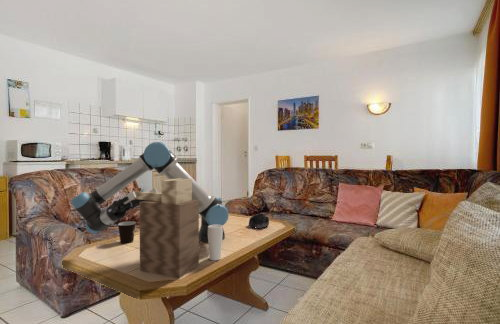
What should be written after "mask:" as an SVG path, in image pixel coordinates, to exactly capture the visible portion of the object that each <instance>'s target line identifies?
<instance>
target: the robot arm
mask: <svg viewBox="0 0 500 324" xmlns="http://www.w3.org/2000/svg"><path fill="white" fill-rule="evenodd" d="M152 170H154V171H156V172H157V173H158V174H159V175H164V176H165V177H166V178H167V180H170V179H178V178H179V179H192V200H199V216H200V217H201V218H200V222H201V223H200V224H201V225H200V227H199V242H200V241H202V242H204V243H205V242H207V243H208V226H209V225H214V224H218V225H222V226H224V225H225V224H227V222H228V220H229V217H230V216H229V210H228V208H227V207H226V206H225V205H223V199H222V198H221V197H216V196H214V195H210V194H209V193H208V192H207V191H206V190H205V189H204V188H202V186H201V185H200V184H199V183H198V182H197V181H196V180H195V179H194V178H193V177H192V176H191V175H190V174H189V173H188V171H186V170H185V169H184V168H183V166H182V165H180V163H178V157H177V156H176V155H175V154H174V153H173V152H172V151H171V150H170V149H169V147H168V146H167V145H166V144H165V143H163V142H160V141H155V142H154V141H153V142H151V143H149V144H148V145H147V146H146V147H145V148H144V151H143V153H142V154H140V155H139V156H138V159H137V160H135V161H134V162H133V163H131V164H130V165H128V166H127V167H125V168H124V169H123V170H121V171H120V172H118V173H117V174H115V175H114V176H113V177H111V178H110V179H109V180H107V181H106V182H104V183H103V184H102V185H100V186H99V187H98V188H96V189H95V190H93V191H92V192H90V193H89V194H88V193H87V192H86V191H82V192H81V193H79V194H78V195H76V196H75V197H73V198H72V199H71V200H70V203H71V205H72V206H73V208H74V209H75V210H76V211H77V212H78V214H79V215H80V216H81V217H82V218H83V219H84V220H85V221H86V222H85V225H84V227H85V230H86V231H87V233H89V234H92V235H93V234H94V235H95V234H98V233H101V232H102V231H104V230H105V229H107V228H108V227H110V226H111V225H112V226H113V225H115V223H116V222H118V221H120V220H121V219H123V218H124V217H125V216H126V213H127V212H128V211H129V210H133V209H135V208H136V207H140V202H143V201H148V200H140V199H134V198H136V195H135V193H134V192H135V191H134V190H133V191H131V192H129V193H127V194H126V195H125V196H124V197H122V198H120V199H118V200H114V201H112V203H111V204H110V205H109V206H107V207H106V208H104V209H103V210H102V209H101V208H100V206H101V205H103V203H106V202H107V200H109V199H110V198H112V197H114V195H116V194H117V193H119V192H121V190H123V189H125V188H126V187H127V186H128V185H130V184H131V183H133V182H134V181H135V180H137V179H138V178H140V177H141V176H143V175H144V174H145V173H147V172H148V171H152ZM148 192H158V193H159V191H158V188H157V187H154V188H153V189H150V191H148ZM225 238H226V233H225V230H224V229H223V237H222V241H223V240H225Z"/></svg>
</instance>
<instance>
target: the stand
mask: <svg viewBox="0 0 500 324" xmlns="http://www.w3.org/2000/svg"><path fill="white" fill-rule="evenodd" d="M199 218H200V214H199V200H191V201H187V202H183V203H179V204H166V203H162V201H153V200H148V201H143V202H140V205H139V272H144V273H149V274H154V275H160V276H164V277H165V276H166V277H170V278H176V279H181V278H182V277H184V276H185V275H187V274H188V273H189V272H191V271H192V270H194V269H195V268H197V267H199V263H200V260H199V259H200V257H199V255H200V253H199V251H200V249H199V248H200V247H199V245H200V244H199V243H200V240H199V230H200V227H199V226H200V221H199V220H200V219H199Z"/></svg>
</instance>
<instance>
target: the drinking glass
mask: <svg viewBox="0 0 500 324" xmlns="http://www.w3.org/2000/svg"><path fill="white" fill-rule="evenodd" d="M223 226H224V225H223ZM223 226H222V225H218V224H214V225H209V226H208V242H207V243H208V245H207V246H208V257H209V260H210V261H213V262H214V261H219V260H221V258H222V248H223V247H222V244H223V240H222V237H223V230H224V228H223Z"/></svg>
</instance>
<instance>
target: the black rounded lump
mask: <svg viewBox="0 0 500 324" xmlns="http://www.w3.org/2000/svg"><path fill="white" fill-rule="evenodd" d="M269 225H270V219H269V217H268V216H266V214H264V213H262V212H260V213H257V214H254V215H253V216H251V217H249V221H248V227H249V226H250V227H249V228H251V227H256V228H255V229H257V228H262V227H266V226H267V227H268V226H269ZM267 227H266V228H267ZM262 229H263V228H262Z"/></svg>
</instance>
